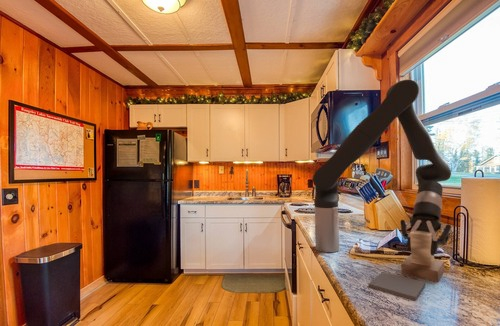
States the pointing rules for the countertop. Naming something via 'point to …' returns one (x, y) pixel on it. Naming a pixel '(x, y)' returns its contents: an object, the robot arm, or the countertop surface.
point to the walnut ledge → (423, 269)
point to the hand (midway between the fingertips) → (421, 251)
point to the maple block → (421, 248)
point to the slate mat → (398, 285)
